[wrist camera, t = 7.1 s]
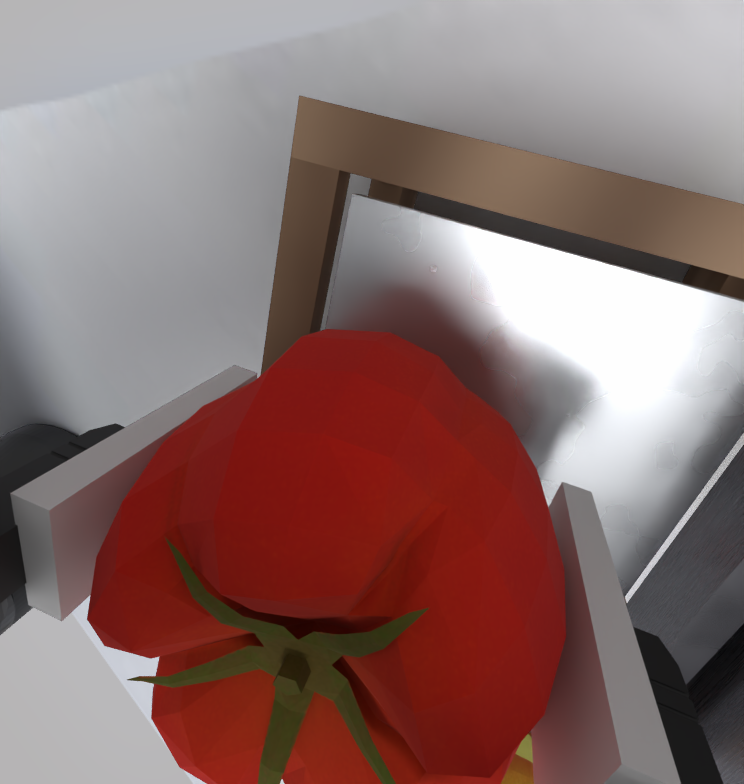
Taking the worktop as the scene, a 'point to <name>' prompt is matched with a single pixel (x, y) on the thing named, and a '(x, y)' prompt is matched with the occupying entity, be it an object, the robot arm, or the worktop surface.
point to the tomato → (340, 576)
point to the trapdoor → (591, 410)
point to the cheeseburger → (521, 764)
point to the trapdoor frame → (480, 189)
